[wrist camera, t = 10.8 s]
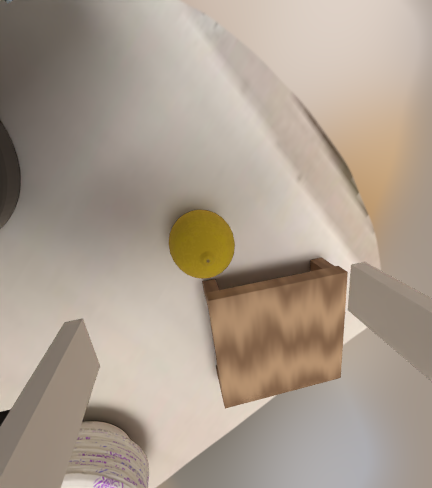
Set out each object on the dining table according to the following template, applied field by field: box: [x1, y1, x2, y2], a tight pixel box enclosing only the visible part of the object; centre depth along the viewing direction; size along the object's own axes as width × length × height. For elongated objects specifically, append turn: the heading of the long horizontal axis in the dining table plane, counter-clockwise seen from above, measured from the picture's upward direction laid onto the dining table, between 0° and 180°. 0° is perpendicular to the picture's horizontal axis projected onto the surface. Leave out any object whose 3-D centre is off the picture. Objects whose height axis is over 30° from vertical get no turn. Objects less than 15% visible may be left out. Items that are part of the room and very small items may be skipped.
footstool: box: [202, 258, 348, 408], centre depth 29 cm, size 14×4×14 cm
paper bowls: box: [61, 421, 149, 488], centre depth 29 cm, size 15×15×8 cm
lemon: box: [169, 210, 235, 279], centre depth 22 cm, size 6×6×8 cm
